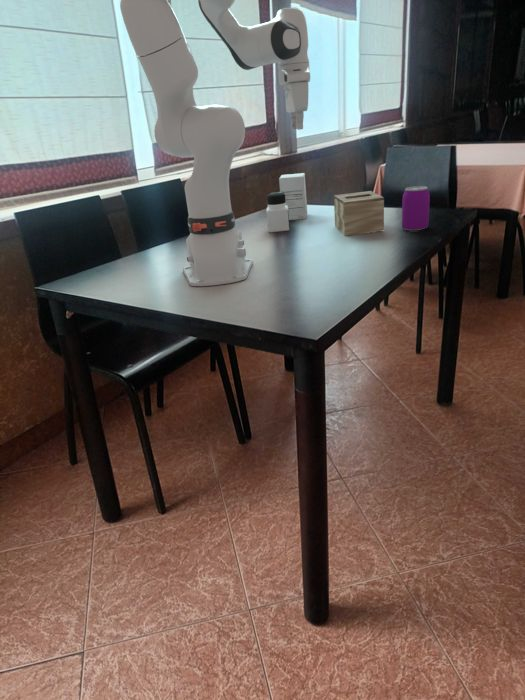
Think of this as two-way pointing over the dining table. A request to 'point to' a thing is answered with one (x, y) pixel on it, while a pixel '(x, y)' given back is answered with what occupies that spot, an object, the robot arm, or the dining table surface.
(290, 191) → the supplement box
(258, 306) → the dining table surface
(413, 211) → the beverage can
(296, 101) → the robot arm
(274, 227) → the medicine bottle
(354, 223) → the coin box
